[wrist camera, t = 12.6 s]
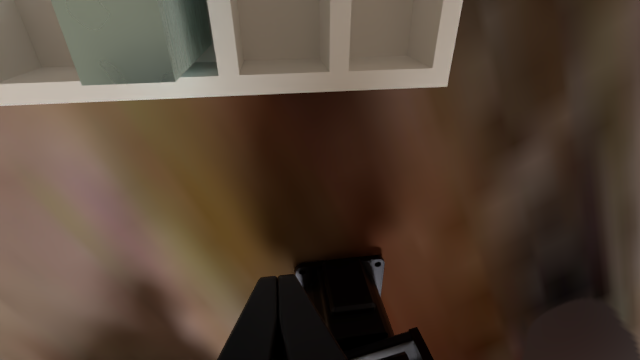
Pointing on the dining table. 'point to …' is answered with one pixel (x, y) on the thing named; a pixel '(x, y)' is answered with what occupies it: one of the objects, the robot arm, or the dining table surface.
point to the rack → (249, 51)
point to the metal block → (133, 38)
